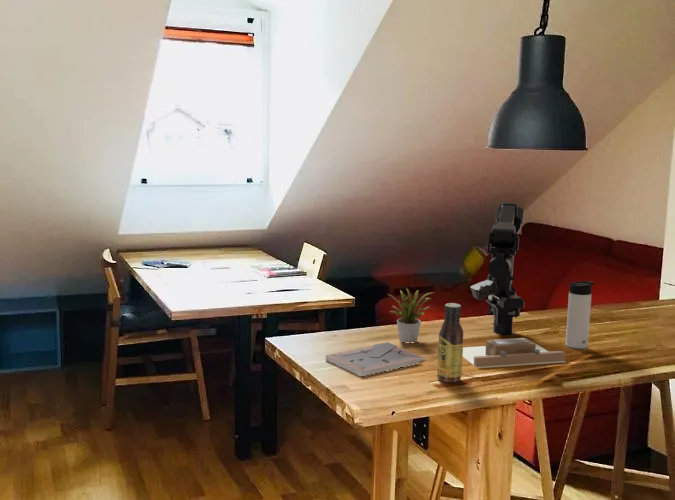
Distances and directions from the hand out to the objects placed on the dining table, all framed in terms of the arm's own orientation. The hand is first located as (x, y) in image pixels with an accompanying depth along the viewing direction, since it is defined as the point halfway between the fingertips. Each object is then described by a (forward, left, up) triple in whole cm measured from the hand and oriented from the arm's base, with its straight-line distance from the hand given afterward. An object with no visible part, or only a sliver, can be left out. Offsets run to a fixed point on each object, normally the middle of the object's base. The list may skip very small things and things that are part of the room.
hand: (498, 325), depth 223 cm
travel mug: (+3, +24, -8) cm, 25 cm away
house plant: (-13, -21, -8) cm, 26 cm away
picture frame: (+3, -37, -9) cm, 39 cm away
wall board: (+7, 0, -8) cm, 10 cm away
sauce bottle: (+21, -23, -8) cm, 32 cm away
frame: (+8, 0, -7) cm, 11 cm away
